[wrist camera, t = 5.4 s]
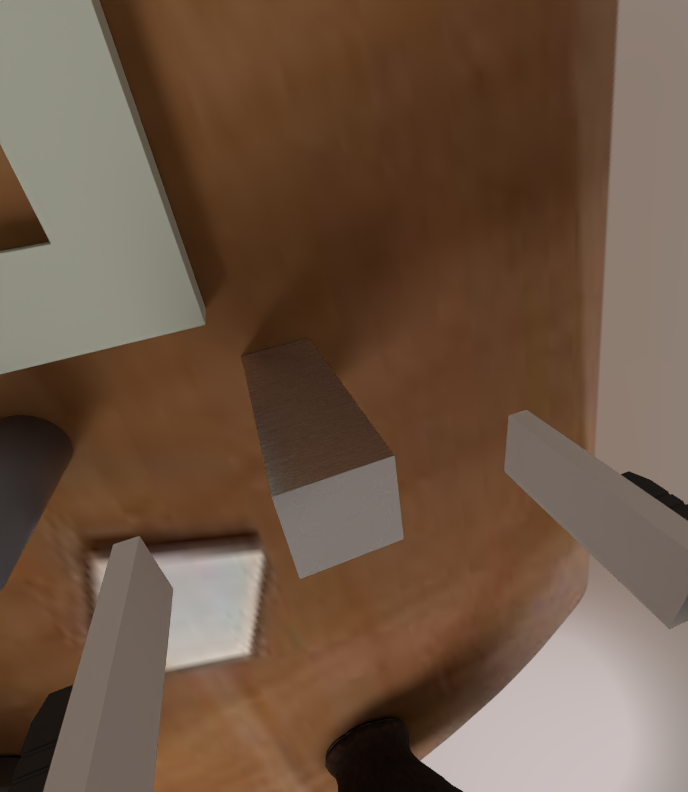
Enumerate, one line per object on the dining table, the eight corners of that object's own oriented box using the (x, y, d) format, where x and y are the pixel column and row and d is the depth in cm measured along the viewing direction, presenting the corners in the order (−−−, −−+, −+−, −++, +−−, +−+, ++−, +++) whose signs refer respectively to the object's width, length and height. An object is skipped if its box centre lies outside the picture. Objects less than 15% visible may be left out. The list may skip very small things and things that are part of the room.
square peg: (259, 414, 23) (299, 579, 13) (241, 355, 21) (271, 497, 11) (321, 396, 24) (403, 538, 14) (309, 337, 22) (394, 455, 12)
